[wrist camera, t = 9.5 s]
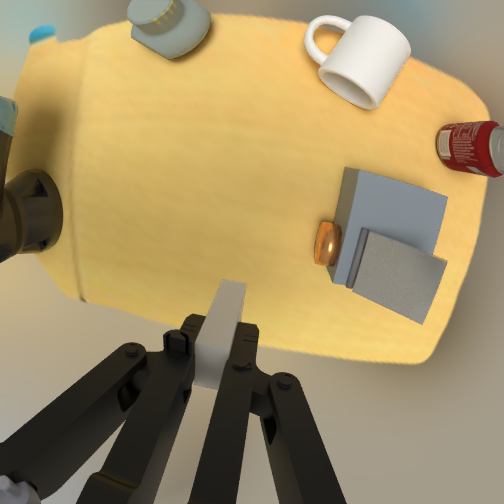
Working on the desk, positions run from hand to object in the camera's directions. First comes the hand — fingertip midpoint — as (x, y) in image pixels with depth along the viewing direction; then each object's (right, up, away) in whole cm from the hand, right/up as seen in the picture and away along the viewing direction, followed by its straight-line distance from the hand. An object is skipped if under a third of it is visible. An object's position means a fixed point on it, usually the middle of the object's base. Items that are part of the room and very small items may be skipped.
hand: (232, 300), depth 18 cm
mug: (+13, +28, +11) cm, 33 cm away
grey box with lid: (+18, +7, +17) cm, 26 cm away
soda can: (+30, +18, +13) cm, 37 cm away
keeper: (+17, 0, +9) cm, 19 cm away
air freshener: (-9, +33, +11) cm, 36 cm away
